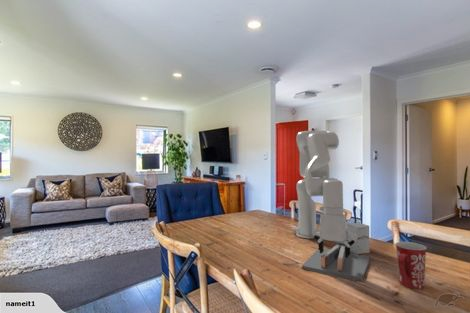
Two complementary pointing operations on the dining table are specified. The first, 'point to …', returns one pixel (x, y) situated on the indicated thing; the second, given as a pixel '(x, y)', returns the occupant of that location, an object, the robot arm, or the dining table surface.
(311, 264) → the mat
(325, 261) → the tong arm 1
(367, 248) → the supplement box
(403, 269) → the mug
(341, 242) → the block
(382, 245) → the dining table surface
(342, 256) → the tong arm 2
